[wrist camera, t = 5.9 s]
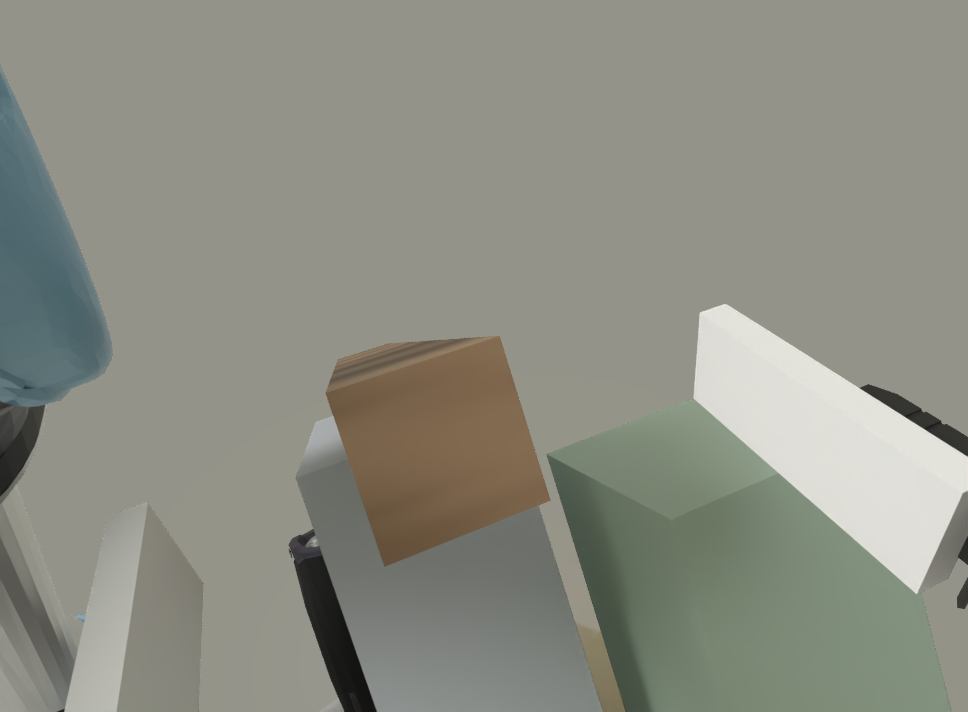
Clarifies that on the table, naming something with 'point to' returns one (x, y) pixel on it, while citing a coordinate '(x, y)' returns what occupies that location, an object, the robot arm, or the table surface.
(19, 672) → the robot arm
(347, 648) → the portable speaker
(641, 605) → the base block
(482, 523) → the bar
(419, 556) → the stand
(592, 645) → the table surface
